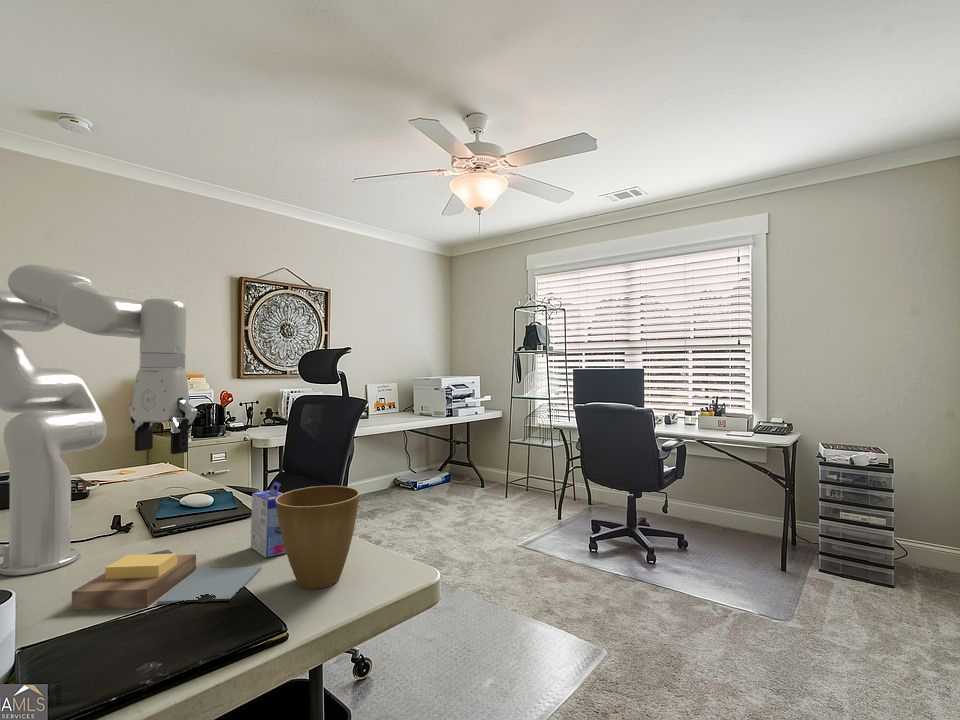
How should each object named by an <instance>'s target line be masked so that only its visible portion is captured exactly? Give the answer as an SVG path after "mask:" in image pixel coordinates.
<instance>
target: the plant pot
mask: <svg viewBox="0 0 960 720" xmlns="http://www.w3.org/2000/svg"><path fill="white" fill-rule="evenodd" d="M360 494H361V493H360V491H359V490H358V489H357V488H354V487H349V486H343V485H342V486H341V485H320V486H318V485H317V486H309V487H304V488H298V489H293V490H290V491H287V492H284V493H283V494H281V495H279V496H278V497H277V498H276V500H275V501H276V508H277V514H278V520H279V525H280V530H281V535H282V539H283V543H284V546H285V550H286V556H287V559H288V562H289V565H290V568H291V571H292V572H293V575H294V577H295V579H296V582H297V584H298V586H299V587H301V588H303V589H306V590H317V589H324V588H327V587H330V586H332V585H335V584H337V582H339V580H340V579H341V576H342V574H343V570H344V567H345V565H346V562H347V561H346V560H347V557H348V554H349V552H350V548H351V543H352V540H353V535H354V531H355V526H356V522H357V515H358V507H359V501H360Z"/></svg>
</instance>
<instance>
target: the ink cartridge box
mask: <svg viewBox="0 0 960 720" xmlns="http://www.w3.org/2000/svg"><path fill="white" fill-rule="evenodd" d="M281 486H282V483H280V482H277V481H274V482H273V484H272V485H271V487H270V488H269V490H265V491H264V490H262V491H257V492H252V494H251V518H250V519H251V521H250V522H251V523H250V525H251V526H250V548H252V549H253V550H255V551H256V552H257V553H259V554H260V555H261V556H263V557H264V558H271V557H275V556H280V555H281V556H282V555H287V553H286V550H285V546H284V543H283V539H282V535H281V530H280V525H279V520H278V514H277V508H276V501H275V500H276V498H277V497H278V496H279V495H281V494H284V493H283V492H280V491H279V490H280V488H281ZM274 487H276V489H275V488H274Z"/></svg>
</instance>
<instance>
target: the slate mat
mask: <svg viewBox="0 0 960 720" xmlns="http://www.w3.org/2000/svg"><path fill="white" fill-rule="evenodd" d="M261 570H262V566H244V567H243V566H241V567H215V568H214V567H212V568H198V569H196V570H195V571H194V572H192V573H191V574H190V575H188V576H187V577H186V578H185V579H183V580H182V581H181V582H179V583H178V584H177V585H175V586H174V587H173V588H172V589H170V590H169V591H168V592H166V593H165V594H164V595H162V596H161V597H160V598H159V599H157V600H156V604H157V605H171V604H170V603H175V602H178V601H183V600H184V601H186V600H198V598H196V597H199V598H201V596H200V595H205V594H209V595H211V594H212V595H215V596H216V598H215V599H231V598H232V597H233V596H234V595H235V594H236V592H238V591H239V589H240V588H242V587H246V586H247V585H248V584H249V583H250V582H251V580H253V578H255V576H256V575H257V574H258V573H259V572H260V571H261ZM212 595H211V596H212ZM213 599H214V598H213Z"/></svg>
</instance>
